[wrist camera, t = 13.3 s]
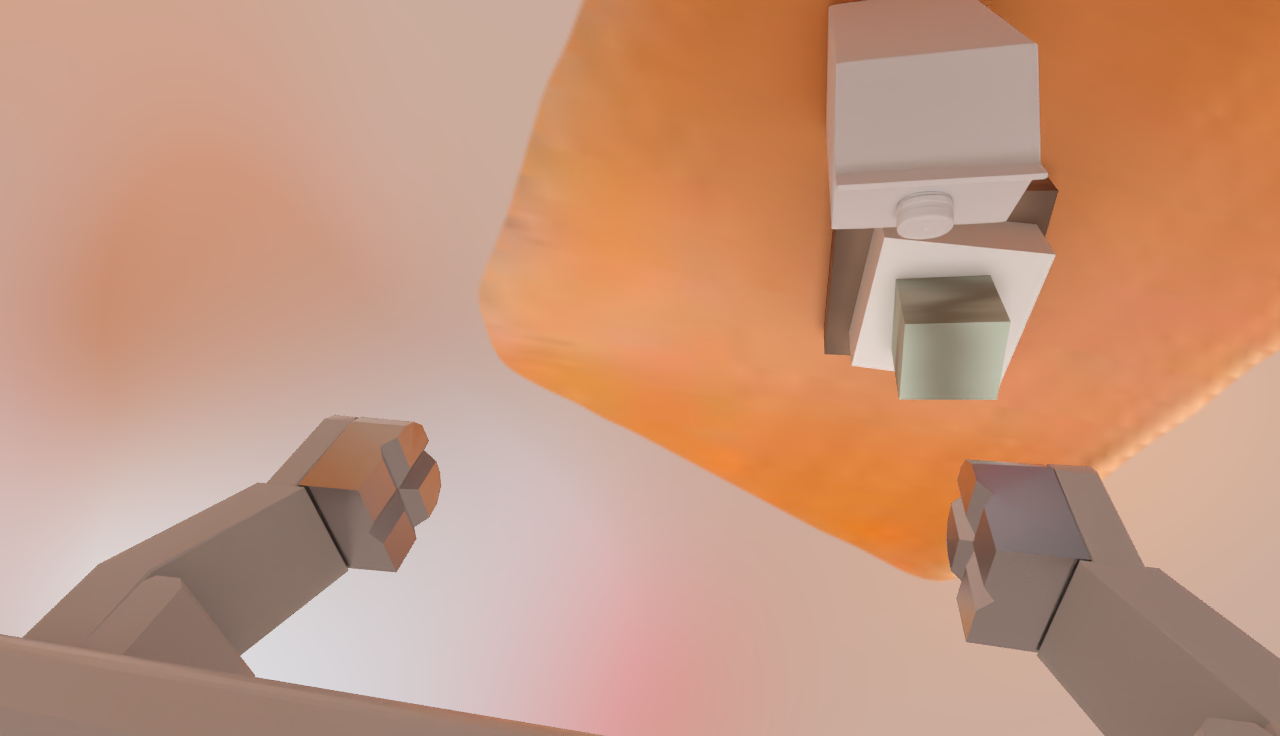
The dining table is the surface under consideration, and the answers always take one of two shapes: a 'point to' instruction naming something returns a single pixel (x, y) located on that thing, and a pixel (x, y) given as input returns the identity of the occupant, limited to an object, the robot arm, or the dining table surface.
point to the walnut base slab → (853, 253)
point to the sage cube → (948, 338)
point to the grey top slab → (965, 250)
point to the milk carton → (928, 115)
